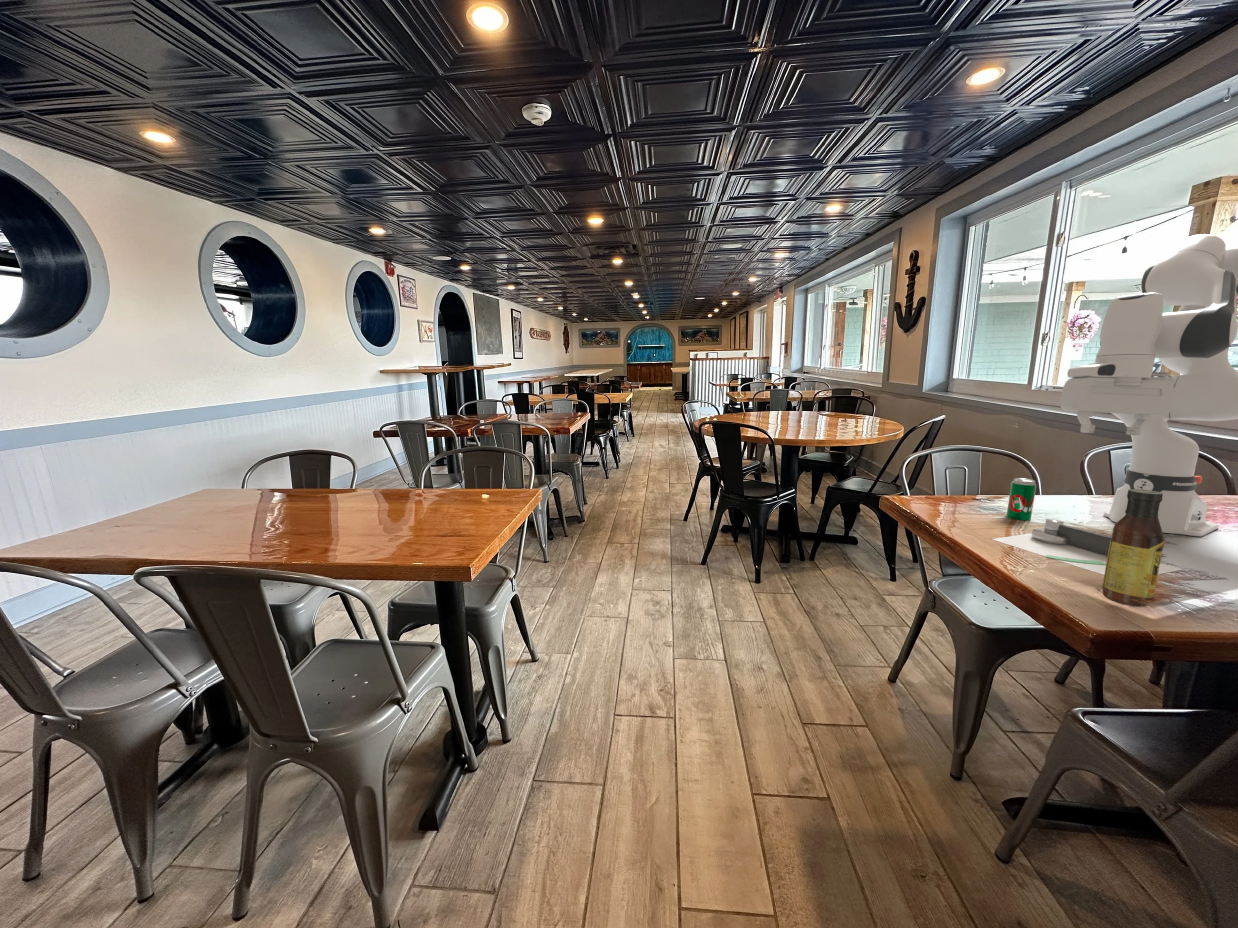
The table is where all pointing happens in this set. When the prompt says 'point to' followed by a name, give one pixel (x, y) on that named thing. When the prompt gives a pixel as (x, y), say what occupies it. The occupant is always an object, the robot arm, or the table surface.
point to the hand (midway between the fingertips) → (1109, 434)
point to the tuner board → (1067, 553)
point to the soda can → (1021, 499)
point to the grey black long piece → (1072, 537)
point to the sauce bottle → (1135, 550)
